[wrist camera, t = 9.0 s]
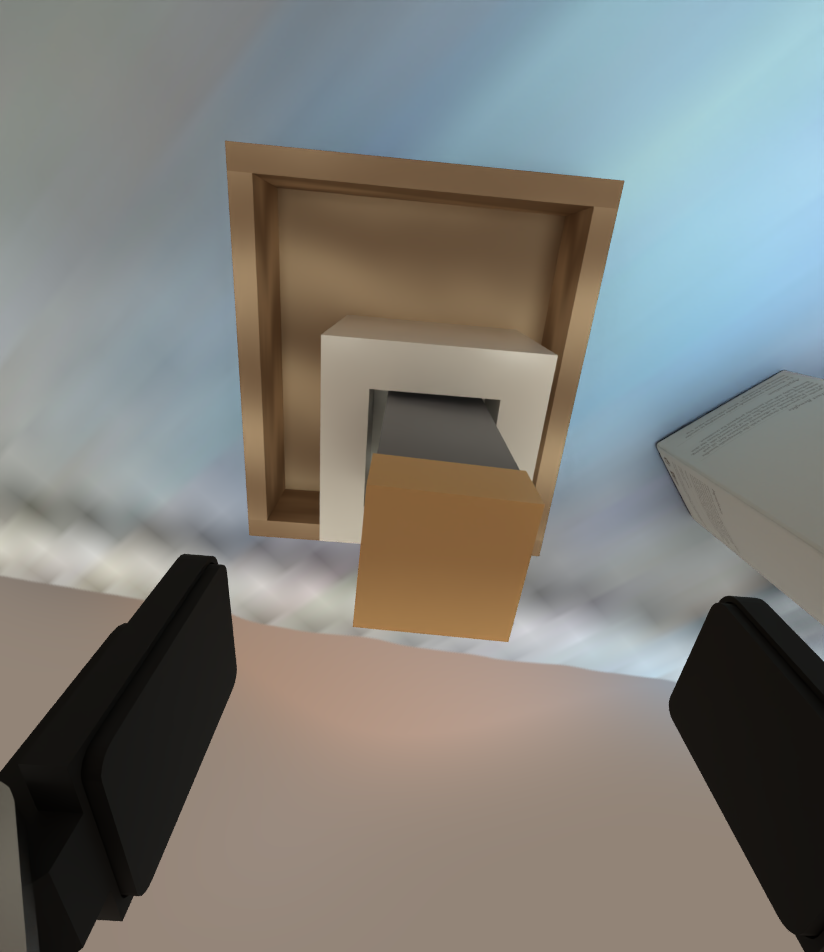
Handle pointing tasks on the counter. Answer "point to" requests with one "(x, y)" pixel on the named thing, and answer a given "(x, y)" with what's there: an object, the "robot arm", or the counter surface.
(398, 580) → the square peg
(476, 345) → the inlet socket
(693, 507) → the skincare box
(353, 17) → the counter surface
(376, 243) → the crate
